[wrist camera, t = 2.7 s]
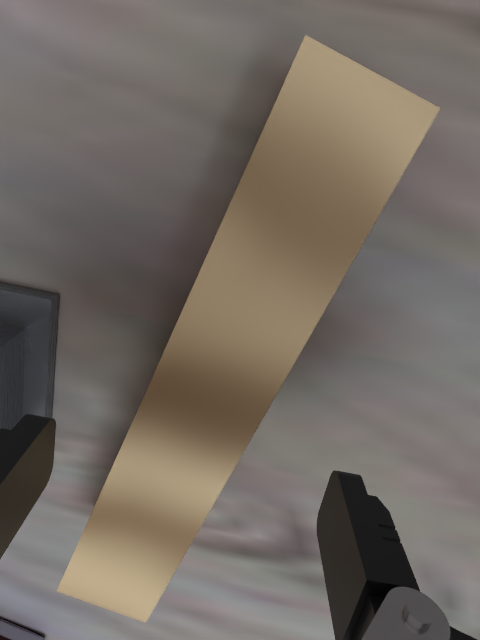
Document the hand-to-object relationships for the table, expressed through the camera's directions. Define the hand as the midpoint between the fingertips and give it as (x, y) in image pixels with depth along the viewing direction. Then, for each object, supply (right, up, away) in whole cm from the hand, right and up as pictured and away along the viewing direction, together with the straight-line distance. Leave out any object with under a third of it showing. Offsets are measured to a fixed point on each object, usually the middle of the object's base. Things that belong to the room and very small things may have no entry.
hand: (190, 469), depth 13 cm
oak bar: (0, +3, +7) cm, 8 cm away
